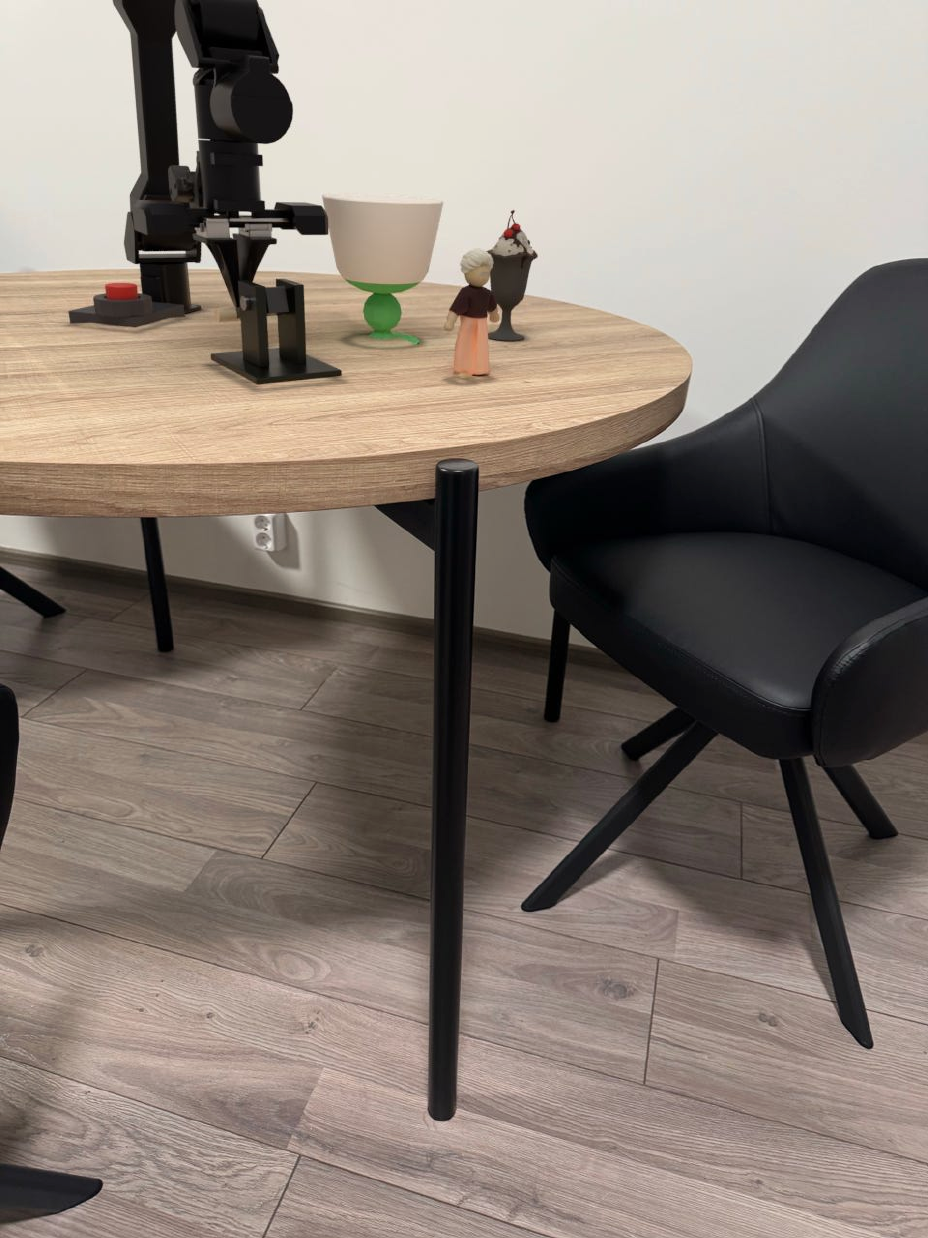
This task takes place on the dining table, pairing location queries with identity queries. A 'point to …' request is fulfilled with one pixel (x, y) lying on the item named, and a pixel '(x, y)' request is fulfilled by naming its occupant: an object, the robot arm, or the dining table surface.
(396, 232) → the cup
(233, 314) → the lever
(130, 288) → the power button
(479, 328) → the grandmother figurine
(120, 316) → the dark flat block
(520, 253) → the sundae
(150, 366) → the dining table surface
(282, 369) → the switch bracket
